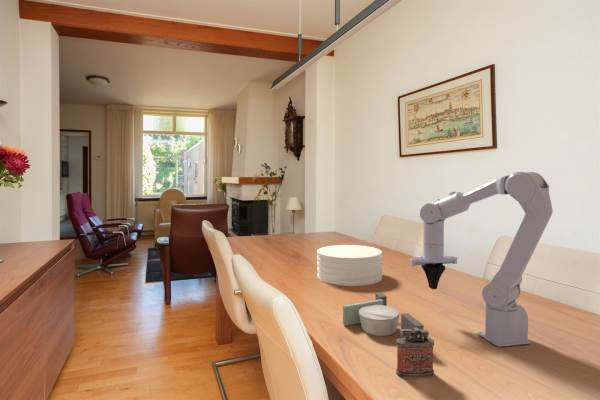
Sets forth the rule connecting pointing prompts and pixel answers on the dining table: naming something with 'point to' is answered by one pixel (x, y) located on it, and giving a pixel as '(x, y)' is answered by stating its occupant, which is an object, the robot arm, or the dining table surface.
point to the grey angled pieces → (402, 316)
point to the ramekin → (379, 319)
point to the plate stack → (349, 265)
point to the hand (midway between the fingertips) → (432, 288)
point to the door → (356, 311)
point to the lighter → (414, 354)
